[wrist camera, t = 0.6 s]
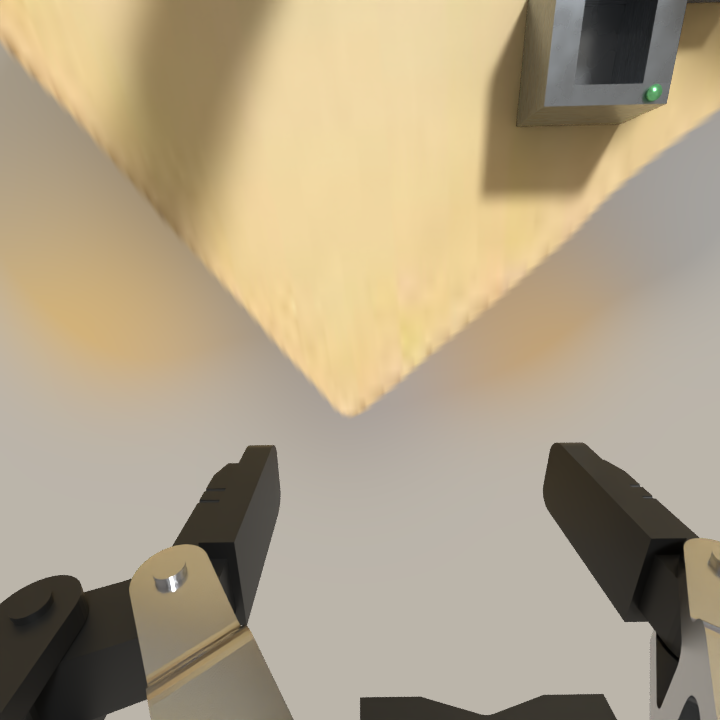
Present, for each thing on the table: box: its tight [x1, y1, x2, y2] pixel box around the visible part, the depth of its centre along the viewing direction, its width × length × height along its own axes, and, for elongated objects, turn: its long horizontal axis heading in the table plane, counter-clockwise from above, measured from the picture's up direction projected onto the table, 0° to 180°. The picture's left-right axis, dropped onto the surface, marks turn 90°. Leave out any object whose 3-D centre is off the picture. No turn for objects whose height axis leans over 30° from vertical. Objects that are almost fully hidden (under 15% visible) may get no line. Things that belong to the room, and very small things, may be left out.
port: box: [516, 0, 687, 126], centre depth 28 cm, size 9×9×5 cm
